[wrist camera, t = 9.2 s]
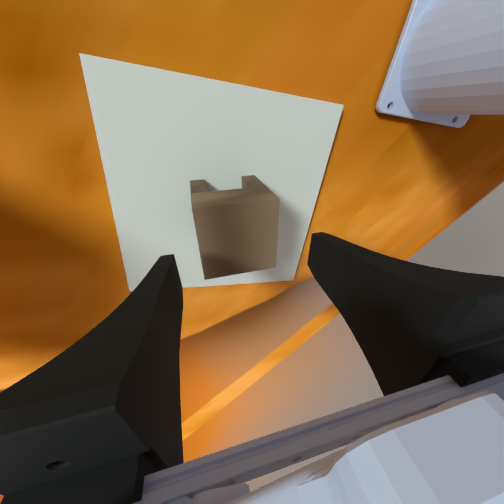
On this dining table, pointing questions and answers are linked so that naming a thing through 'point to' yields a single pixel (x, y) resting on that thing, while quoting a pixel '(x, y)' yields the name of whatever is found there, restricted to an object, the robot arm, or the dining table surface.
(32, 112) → the dining table surface
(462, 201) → the dining table surface
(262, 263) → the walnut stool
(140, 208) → the grey mat
